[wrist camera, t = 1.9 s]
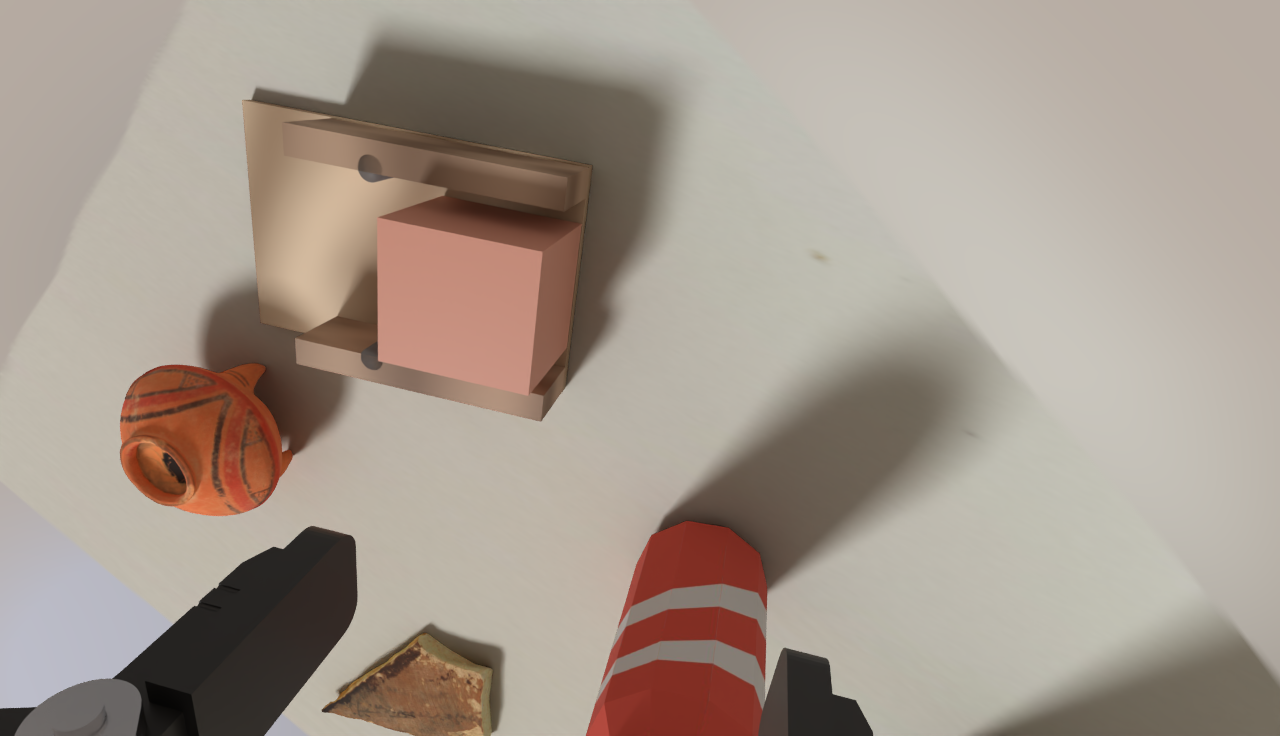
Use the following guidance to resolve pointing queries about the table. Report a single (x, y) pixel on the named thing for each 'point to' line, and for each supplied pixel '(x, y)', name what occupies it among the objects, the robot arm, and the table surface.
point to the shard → (422, 693)
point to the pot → (201, 439)
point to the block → (475, 291)
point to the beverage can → (688, 640)
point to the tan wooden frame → (347, 232)
